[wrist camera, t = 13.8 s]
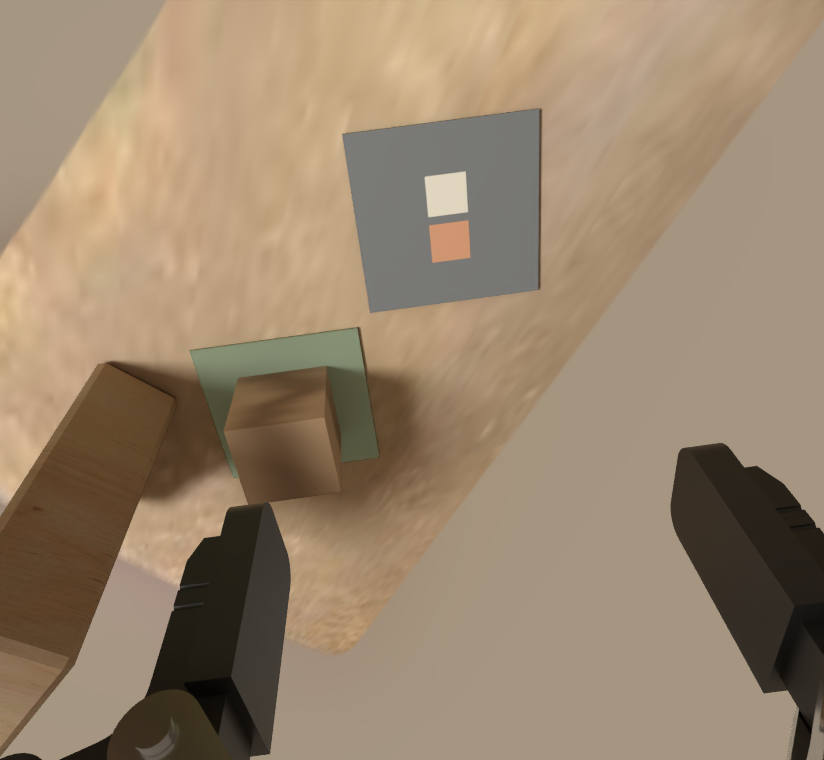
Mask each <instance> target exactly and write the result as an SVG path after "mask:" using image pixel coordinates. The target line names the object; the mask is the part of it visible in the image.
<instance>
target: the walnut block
mask: <svg viewBox="0 0 824 760" xmlns="http://www.w3.org/2000/svg"><path fill="white" fill-rule="evenodd" d="M224 435H225V437H226V440H227V443H228V446H229V449H230V452H231V455H232V458H233V461H234V464H235V467H236V470H237V473H238V476H239V479H240V482H241V485H242V487H243V490H244V493H245V496H246V499H247V502H248V505H251V504H259V503H266V502H275V501H282V500H289V499H296V498H303V497H310V496H317V495H324V494H331V493H338V492H341V432H340V427H339V422H338V418H337V413H336V408H335V404H334V399H333V394H332V389H331V385H330V380H329V375H328V370H327V366H320V367H313V368H306V369H299V370H291V371H284V372H277V373H270V374H262V375H255V376H248V377H241V378H238V380H237V383H236V387H235V391H234V395H233V398H232V402H231V406H230V410H229V413H228V417H227V421H226V425H225V428H224Z"/></svg>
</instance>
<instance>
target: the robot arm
mask: <svg viewBox="0 0 824 760" xmlns="http://www.w3.org/2000/svg"><path fill="white" fill-rule="evenodd" d="M671 517H672V522H673V526H674V529H675V532H676V534H677V536H678V538H679V540H680V542H681V543H682V545H683V547H684V549H685V551H686V553H687V554H688V556H689V558H690V560H691V562H692V563H693V565H694V567H695V569H696V571H697V573H698V574H699V576H700V578H701V580H702V582H703V584H704V585H705V587H706V589H707V591H708V592H709V595H710V596H711V598H712V600H713V602H714V603H715V605H716V607H717V609H718V611H719V613H720V614H721V616H722V618H723V620H724V622H725V623H726V625H727V627H728V629H729V631H730V633H731V635H732V636H733V638H734V640H735V641H736V643H737V645H738V647H739V649H740V651H741V653H742V655H743V656H744V658H745V660H746V662H747V664H748V665H749V667H750V669H751V671H752V673H753V675H754V676H755V678H756V680H757V682H758V684H759V685H760V687H761V689H762V691H763V693H770V692H777V691H786V690H788V691H789V693H790V695H791V696H792V698H793V700H794V701H795V703H796V705H797V708H796V711H795V714H794V719H793V724H792V730H791V736H790V743H789V748H788V753H787V760H824V534H823V532H822V531H821V529H820V528H816V526H815V522H814V521H813V520H812V518H811V517H810V516H809V515H808V513H807V512H806V511H805V510H802V509H801V505H800V504H799V503H798V501H797V500H796V499H795V497H794V496H793V495H792V494H791V493H790V491H789V490H788V489H787V488H786V486H785V485H784V484H783V483H782V482H780V481H779V480H777V479H776V478H774V477H773V476H771V475H770V474H768V473H767V472H765V471H764V470H762V469H761V468H759V467H758V466H753V467H746V468H744V467H743V465H742V464H741V463H740V461H739V460H738V459H737V458H736V456H735V455H734V454H733V452H732V451H731V450H730V449H729V447H728V446H726V445H725V444H723V443H717V444H710V445H703V446H695V447H687V448H682V449H681V450H680V452H679V454H678V460H677V466H676V472H675V479H674V485H673V492H672V499H671ZM290 581H291V575H290V563H289V558H288V554H287V551H286V548H285V545H284V542H283V539H282V536H281V533H280V530H279V527H278V524H277V522H276V519H275V516H274V513H273V510H272V507H271V506H270V504H269V503H268V502H266V503H259V504H251V505H244V506H236V507H230V508H229V509H228V510H227V513H226V516H225V520H224V524H223V528H222V532H221V536H216V537H209V538H204V539H203V540H202V542H201V543H200V544H199V546H198V547H197V548H196V550H195V551H194V552H193V554H192V555H191V556H190V558H189V559H188V560H187V563H186V566H185V569H184V573H183V576H182V579H181V583H180V590H178V593H177V596H176V600H175V603H174V611H172V613H171V616H170V619H169V623H168V626H167V629H166V633H165V636H164V640H163V643H162V647H161V649H160V653H159V656H158V659H157V663H156V666H155V670H154V673H153V677H152V679H151V683H150V686H149V689H148V692H147V694H146V696H145V698H144V699H142V700H141V701H139V702H138V703H137V704H135V705H134V706H133V707H132V708H131V709H130V710H129V711H128V712H127V713H126V714H125V715H124V716H123V718H122V719H121V720H120V721H119V723H118V724H117V726H116V728H115V729H114V731H113V734H111V735H110V736H108V737H107V738H105V739H103V740H101V741H99V742H98V743H96V744H93V745H91V746H89V747H87V748H85V749H82V750H80V751H78V752H75V753H73V754H71V755H69V756H67V757H64V758H62V759H60V760H250V757H251V756H259V755H266V754H270V749H271V741H272V732H273V724H274V715H275V708H276V698H277V691H278V683H279V674H280V666H281V657H282V650H283V640H284V633H285V625H286V617H287V609H288V600H289V592H290ZM0 760H42V759H40V758H39V757H37V756H35V755H33V754H27V753H19V754H13V755H10V756H7V757H4V758H2V759H0Z"/></svg>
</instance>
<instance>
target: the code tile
mask: <svg viewBox="0 0 824 760" xmlns="http://www.w3.org/2000/svg"><path fill="white" fill-rule="evenodd" d="M342 135H343V142H344V148H345V154H346V161H347V167H348V173H349V180H350V186H351V193H352V199H353V205H354V212H355V218H356V224H357V231H358V237H359V244H360V250H361V256H362V263H363V269H364V276H365V282H366V288H367V295H368V301H369V307H370V313H373V312H380V311H388V310H395V309H402V308H410V307H417V306H424V305H432V304H439V303H447V302H454V301H461V300H469V299H476V298H483V297H491V296H498V295H505V294H513V293H520V292H527V291H535V290H538V249H539V109H532V110H524V111H516V112H508V113H501V114H493V115H485V116H478V117H470V118H462V119H454V120H447V121H439V122H431V123H424V124H416V125H408V126H400V127H393V128H385V129H377V130H369V131H362V132H354V133H346V134H342Z"/></svg>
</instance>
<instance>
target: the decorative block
mask: <svg viewBox="0 0 824 760" xmlns="http://www.w3.org/2000/svg"><path fill="white" fill-rule="evenodd" d="M176 406H177V403H176V400H175V398H173V397H171V396H169V395H167V394H165V393H163V392H161V391H160V390H158V389H156V388H154V387H152V386H150V385H148V384H146V383H144V382H142V381H140V380H138V379H136V378H134V377H132V376H130V375H128V374H126V373H124V372H122V371H121V370H119V369H117V368H115V367H113V366H111V365H109V364H107V363H103V364H98V365H97V367H96V368H95V370H94V371H93V373H92V375H91V376H90V378H89V379H88V381H87V382H86V384H85V386H84V387H83V389H82V390H81V392H80V393H79V395H78V396H77V398H76V400H75V401H74V403H73V404H72V406H71V407H70V409H69V410H68V412H67V414H66V415H65V417H64V418H63V420H62V421H61V423H60V424H59V426H58V428H57V429H56V431H55V432H54V434H53V435H52V437H51V439H50V440H49V442H48V443H47V445H46V446H45V448H44V449H43V451H42V453H41V454H40V456H39V457H38V459H37V460H36V462H35V463H34V465H33V467H32V468H31V470H30V471H29V473H28V474H27V476H26V477H25V479H24V481H23V482H22V484H21V485H20V487H19V488H18V490H17V492H16V493H15V495H14V496H13V498H12V499H11V501H10V502H9V504H8V506H7V507H6V509H5V511H4V512H3V513H2V515H1V516H0V756H1V755H2V754H3V752H4V751H5V750H6V749H7V748H8V746H9V745H10V744H11V743H12V741H13V740H14V739H15V738H16V737H17V735H18V734H19V733H20V732H21V730H22V729H23V728H24V726H25V725H26V724H27V723H28V722H29V721H30V719H31V718H32V717H33V716H34V714H35V713H36V712H37V711H38V709H39V708H40V707H41V706H42V704H43V703H44V702H45V701H46V699H47V698H48V697H49V696H50V694H51V693H52V692H53V691H54V690H55V688H56V687H57V686H58V685H59V683H60V682H61V681H62V680H63V678H64V677H65V676H66V675H67V673H68V672H69V671H70V670H71V668H72V667H73V666H74V665H75V662H76V660H77V657H78V655H79V652H80V649H81V647H82V644H83V642H84V639H85V637H86V634H87V632H88V629H89V627H90V624H91V622H92V619H93V617H94V614H95V612H96V609H97V606H98V604H99V601H100V599H101V596H102V594H103V591H104V588H105V586H106V584H107V581H108V579H109V576H110V573H111V571H112V568H113V566H114V563H115V561H116V558H117V556H118V553H119V551H120V548H121V545H122V543H123V540H124V538H125V535H126V533H127V530H128V528H129V525H130V523H131V520H132V517H133V515H134V512H135V510H136V507H137V505H138V502H139V500H140V497H141V495H142V492H143V489H144V487H145V484H146V482H147V479H148V477H149V474H150V472H151V469H152V467H153V464H154V462H155V459H156V457H157V454H158V452H159V449H160V446H161V444H162V441H163V439H164V436H165V434H166V431H167V429H168V426H169V423H170V421H171V418H172V416H173V413H174V411H175V408H176Z"/></svg>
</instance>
